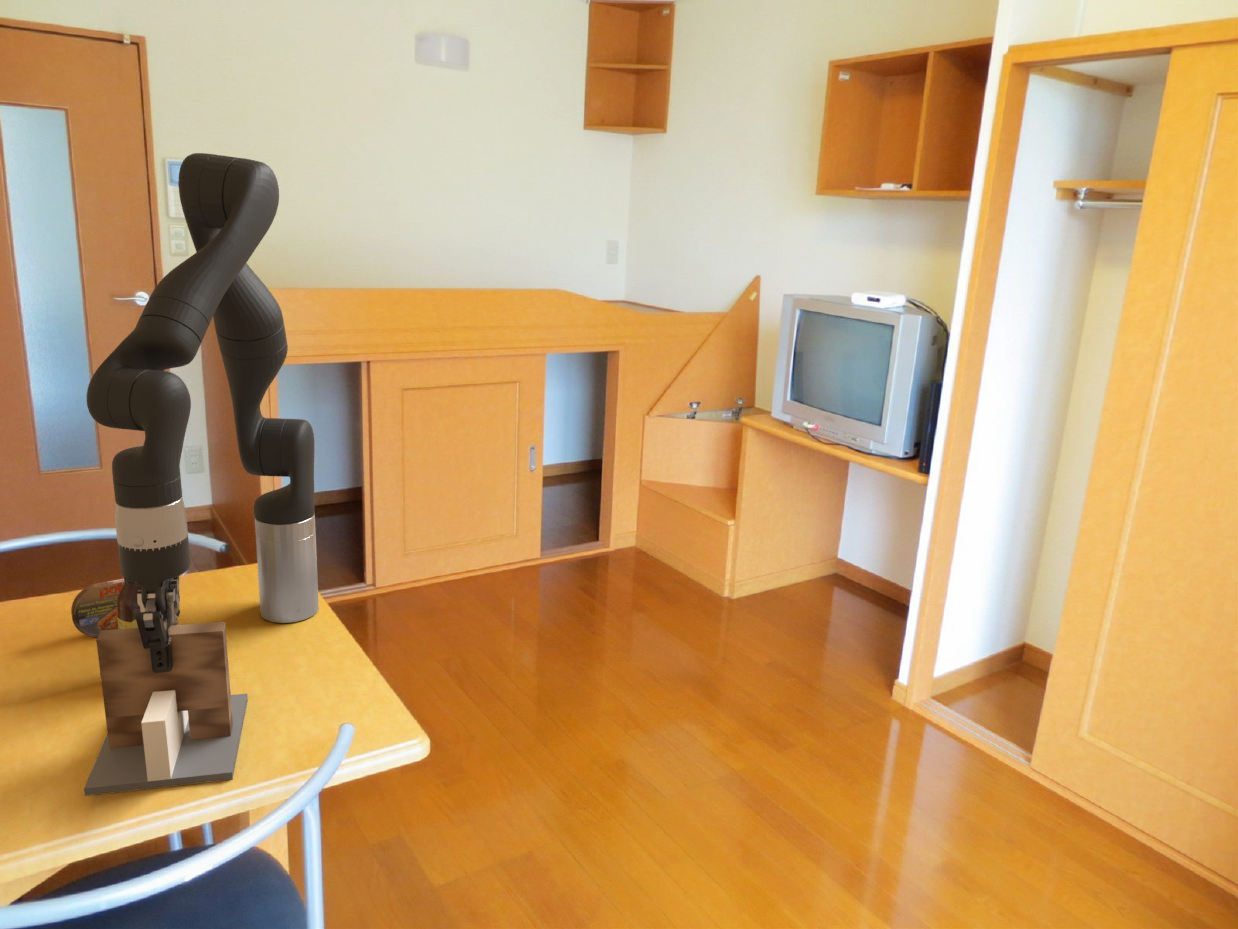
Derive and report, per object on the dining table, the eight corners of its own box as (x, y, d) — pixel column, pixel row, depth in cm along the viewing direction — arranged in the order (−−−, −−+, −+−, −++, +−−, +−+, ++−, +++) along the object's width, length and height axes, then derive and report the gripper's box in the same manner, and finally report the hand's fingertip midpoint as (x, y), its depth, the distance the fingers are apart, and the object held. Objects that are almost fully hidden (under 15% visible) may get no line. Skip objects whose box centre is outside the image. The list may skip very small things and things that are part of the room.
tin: (75, 643, 139) (69, 593, 136) (72, 635, 141) (66, 585, 139) (182, 621, 148) (178, 573, 145) (178, 613, 150) (173, 566, 147)
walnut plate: (232, 725, 119) (225, 621, 115) (230, 736, 117) (222, 631, 113) (114, 736, 116) (101, 630, 111) (109, 748, 113) (96, 640, 109)
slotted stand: (120, 711, 123) (113, 651, 120) (247, 699, 127) (243, 642, 124) (84, 796, 106) (75, 729, 104) (232, 779, 111) (227, 714, 108)
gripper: (177, 556, 103) (189, 690, 108) (196, 512, 116) (206, 634, 121) (102, 559, 101) (119, 696, 106) (130, 515, 114) (144, 639, 119)
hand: (165, 663), depth 113 cm, fingers open, 3 cm apart
